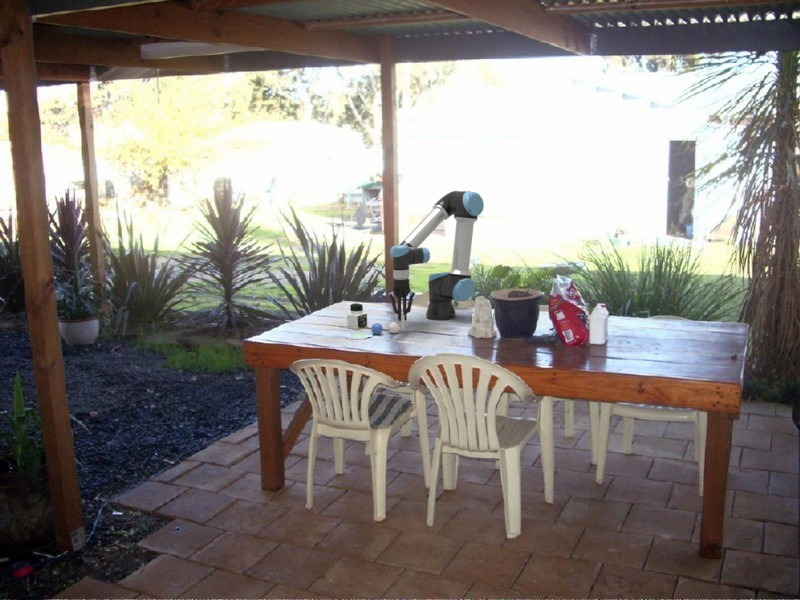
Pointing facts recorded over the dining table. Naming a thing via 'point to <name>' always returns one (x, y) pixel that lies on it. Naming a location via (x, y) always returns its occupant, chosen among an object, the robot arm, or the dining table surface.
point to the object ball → (376, 328)
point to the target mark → (360, 335)
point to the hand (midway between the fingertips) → (402, 327)
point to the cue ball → (394, 327)
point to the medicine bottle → (356, 317)
